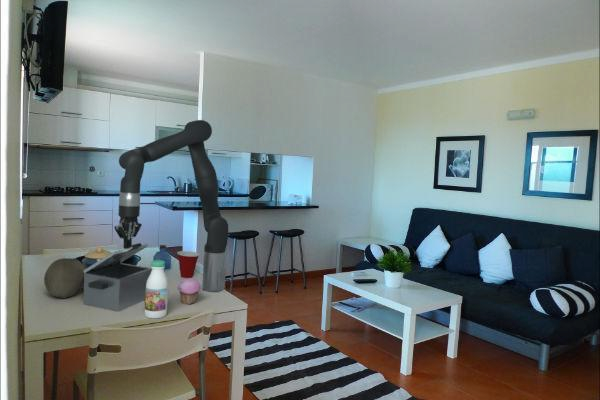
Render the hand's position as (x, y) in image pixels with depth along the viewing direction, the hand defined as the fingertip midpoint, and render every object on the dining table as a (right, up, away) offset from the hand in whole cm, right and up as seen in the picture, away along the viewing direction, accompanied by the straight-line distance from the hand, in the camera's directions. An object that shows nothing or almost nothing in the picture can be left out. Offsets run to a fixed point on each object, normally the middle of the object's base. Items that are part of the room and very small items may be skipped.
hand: (127, 248), depth 159 cm
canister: (-19, -19, +17) cm, 32 cm away
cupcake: (+22, -23, +6) cm, 32 cm away
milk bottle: (+14, -23, -9) cm, 29 cm away
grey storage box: (-5, -21, +1) cm, 21 cm away
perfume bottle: (-5, -17, +54) cm, 57 cm away
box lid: (-3, -4, +1) cm, 5 cm away
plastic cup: (+12, -19, +43) cm, 48 cm away
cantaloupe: (-26, -19, +3) cm, 32 cm away
